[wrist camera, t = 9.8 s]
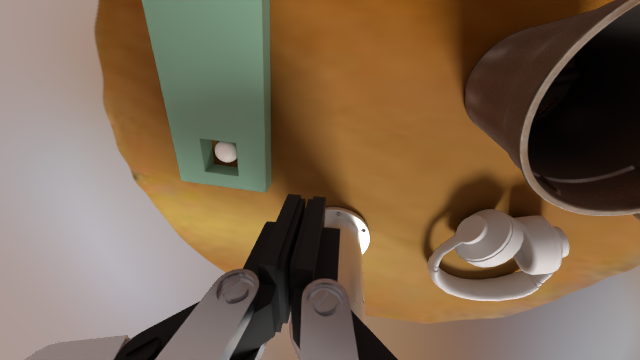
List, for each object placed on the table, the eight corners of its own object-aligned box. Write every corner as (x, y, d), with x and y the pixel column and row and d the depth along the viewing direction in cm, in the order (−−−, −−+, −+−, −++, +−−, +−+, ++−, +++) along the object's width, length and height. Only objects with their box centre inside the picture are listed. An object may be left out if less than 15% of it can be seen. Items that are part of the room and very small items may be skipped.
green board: (271, 183, 40) (265, 192, 37) (192, 172, 41) (181, 180, 38) (269, -9, 28) (261, -16, 25) (155, -20, 28) (135, -28, 26)
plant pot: (419, 118, 32) (472, 169, 18) (507, -23, 25) (716, -123, 11) (519, 164, 34) (640, 243, 20) (632, 43, 26) (963, 33, 12)
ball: (243, 157, 38) (233, 168, 36) (223, 153, 39) (211, 164, 36) (242, 137, 36) (231, 147, 34) (220, 133, 37) (208, 143, 34)
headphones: (452, 192, 37) (412, 266, 49) (472, 230, 30) (420, 304, 42) (575, 209, 36) (503, 280, 48) (621, 252, 29) (525, 321, 41)
